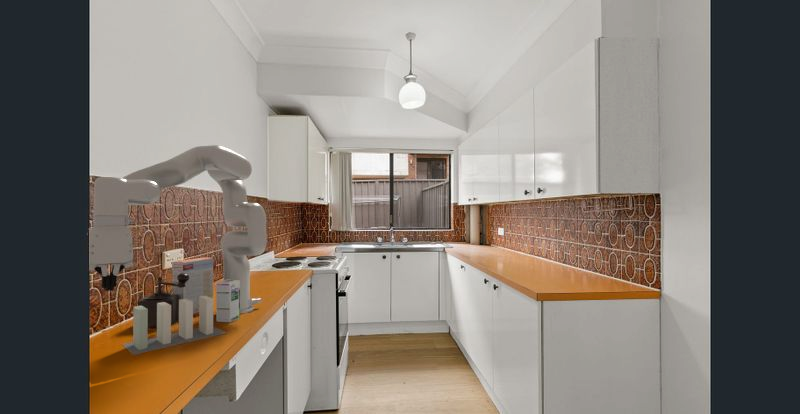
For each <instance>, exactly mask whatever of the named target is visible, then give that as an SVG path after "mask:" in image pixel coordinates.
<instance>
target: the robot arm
mask: <svg viewBox="0 0 800 414" xmlns="http://www.w3.org/2000/svg"><path fill="white" fill-rule="evenodd" d="M252 169H253V167H252V164H251V162H250V161H249V160H248V158H246V157H245V156H242V155H241V154H238V153H237V152H235V151H233V150H231V149H229V148H226V147H224V146H222V145H215V144H214V145H213V144H212V145H200V146H199V145H198V146H195V147H192V148H190V149H188V150H185V151H184V152H182V153H180V154H178V155H176V156H174V157H171V158H169V159H167V160H165V161H162V162H159V163H156V164H153V165H151V166H147V167H145V168H142V169H138V170H137V171H133V172H131V173H129V174H127V175H125V176H123V177H113V176H100V177H98V178H96V179H95V181H94V184H93V185H94V188H93V190H94V193H93V219H92V220H93V223H92V227H88V230H89V270H88V271H94V272H96V273H98V274H99V275H100V276H101V289H103V291H105V292H109V291H113V292H114V291H115V287H116V288H117V281H118V280H117V278H118V277H117V276H118V275H119V274H120V272H122V271H123V270H125V269H127V268H131V267H133V266H134V262H133V261H134V260H133V259H134V246H133V245H134V243H133V236H132V231H131V227H129V225H130V224H134V222H135V220H134V219H135V218H130V217H129V206H149V205H152V204H155V203H156V202H158V201H159V200H160V198H161V197H162V189H164V188H172V187H176V186H179V185H182V184H185V183H187V182H189V181H190V180H192V179H194V178H195V177H197V176H199V175H200V174H202V173H204V172H207V173H208V175H209V177H210V178H211V179H213V180H214V182H216V183H217V184H218V185H219V187H220V188H221V191H222V197H223V198H222V199H223V218H224V222H225V224H226V225H227V226H228V227H233V228H246V230H241V229H240V230H238V229H237V230H236V229H235V230H230V231H227V232H225V233H224V234H223V235H222V237H221V239H220V249H221V254H222V263H223V276H222V277H223V279H222V281H224V280H226V279H237V280H240V315H241V314H245V313H247V314H248V313H251V312H253V311H254V310H255V307H254V305H255V304H261V303H262V298H260V297H258V298H252V297H250V294H251V293H250V284H251V283H250V282H251V281H250V279H251V278H250V277H251V276H250V275H251V270H250V269H251V268H250V267H251V265H250V261H249V259H248V257H247V256H253V257H254V256H255V257H256V256H260V255H262V254H263V253H264V252H265V250H266V248H267V241H268V240H267V237H268V236H267V215H266V211H265V209H264V207H263V206H262V205H261V204H259V203H257V202H248V197H247V196H248V195H247V194H248V193H247V189H246V186H245V183H244V182H243V181H244V180H247V179H248V178H250V176H251V174H252ZM107 265H112V267H111V271H110V273H108V266H107Z"/></svg>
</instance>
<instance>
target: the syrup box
mask: <svg viewBox="0 0 800 414" xmlns="http://www.w3.org/2000/svg"><path fill="white" fill-rule="evenodd" d="M215 287H216V288H215V291H216V292H215V294H216V295H215V298H216V300H215V302H216V303H215V304H216V306H215V307H216V311H215V313H216V317H215V318H216V322H219V323H232V322H235V321H237V320H240V319H241V314H240V280H237V279H226V280H224V281H223V280H220V281H217V282H216V283H215Z"/></svg>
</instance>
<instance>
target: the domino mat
mask: <svg viewBox="0 0 800 414" xmlns="http://www.w3.org/2000/svg"><path fill="white" fill-rule="evenodd" d="M225 334H227V332H226V331H223V330H221V329H219V328H217V327H215V326H213V333H212V334H208V335H206V334H204V333H202V332H200V331H199V327H196V328H193V338H190V339H184V338H183V337H181V336H179V331H178V332H175V333H171V343H168V344H162V343H160V342H159V341H158V340H157V336H155V337H154V336H153V337H151V338H150V337H149V338H147V348H146V349H141V350H138V349H137V348H136V347H135V346H134V345H133V341H131V342H126V343H122V346H123V347H124V348H126V350H127V351H129V353H131V355H139V354H143V353H146V352H151V351H156V350H160V349H165V348H169V347H173V346H178V345H181V344H182V345H183V344H186V343H190V342H191V343H192V342H195V341H198V340H199V341H200V340H203V339H208V338H212V337H216V336H217V337H218V336H221V335H225Z"/></svg>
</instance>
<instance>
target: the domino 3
mask: <svg viewBox="0 0 800 414" xmlns="http://www.w3.org/2000/svg"><path fill="white" fill-rule="evenodd" d="M193 329H194V316H193V301H190V300H188V299H181V300H179V320H178V332H179V336H181V337H183V338H184V339H190V338H193Z"/></svg>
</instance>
